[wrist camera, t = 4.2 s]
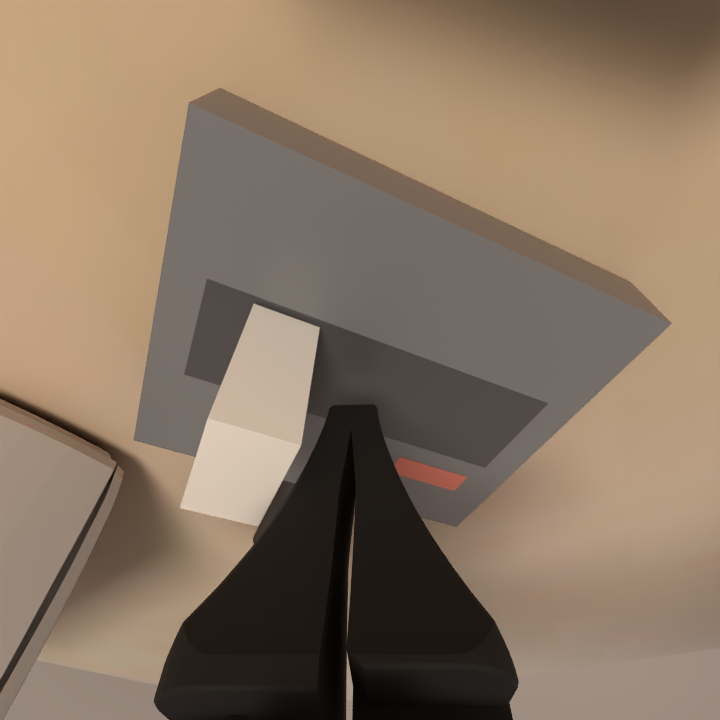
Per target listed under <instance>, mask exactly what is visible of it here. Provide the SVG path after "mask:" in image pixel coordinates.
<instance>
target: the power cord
mask: <svg viewBox="0 0 720 720" xmlns="http://www.w3.org/2000/svg"><path fill="white" fill-rule="evenodd" d="M294 485H295V483H291V482H288V481H283V482H282V484H281V486H280V488H279V490H278V492H277V494H276V496H275V497H274V499H273V501H272V503H271V505H270V507H269V509H268V511H267V512H266V514H265V516H264V518H263V520H262V522H261V524H260V525H259V527H258V529H257V531H256V533H255V535H254V537H253V542H254V544H255V542H256V541H257V540H258V538H259V537H260V536H261V534H262V533H263V532H264V530H265V529H266V528H267V526H268V525H269V524H270V522H271V521H272V519H273V518H274V516H275V515H276V514H277V512H278V511H279V509H280V508H281V506H282V505H283V503H284V501H285V500H286V498H287V497H288V495H289V493H290V492H291V490H292V489H293V487H294Z"/></svg>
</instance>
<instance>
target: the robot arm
mask: <svg viewBox="0 0 720 720" xmlns="http://www.w3.org/2000/svg"><path fill="white" fill-rule="evenodd" d="M355 498H356V502H355ZM354 508H355V524H354V544H353V562H352V578H351V594H350V608H349V622H348V636H347V602H348V566H349V553H350V544H351V535H352V526H353V517H354ZM347 653H348V659H349V665H350V671H351V676H352V682H353V720H513V718H512V713H511V709H510V704H509V702H510V700H511V699H512V697H513V695H514V693H515V691H516V690H517V688H518V677H517V673H516V670H515V667H514V664H513V661H512V658H511V656H510V653H509V651H508V648H507V646H506V644H505V642H504V639H503V637H502V635H501V633H500V631H499V629H498V627H497V625H496V623H495V621H494V619H493V618H492V617H491V616H490V614H489V613H488V612H487V611H486V610H485V608H484V607H483V606H482V605H481V604H480V602H479V601H478V600H477V598H476V597H475V596H474V595H473V593H472V592H471V591H470V590H469V588H468V587H467V586H466V584H465V583H464V582H463V580H462V579H461V578H460V576H459V575H458V574H457V572H456V571H455V570H454V568H453V567H452V565H451V564H450V562H449V561H448V559H447V558H446V556H445V555H444V553H443V552H442V551H441V549H440V548H439V546H438V545H437V543H436V542H435V540H434V539H433V537H432V536H431V534H430V532H429V531H428V529H427V527H426V526H425V524H424V522H423V521H422V519H421V517H420V516H419V514H418V512H417V510H416V508H415V507H414V505H413V503H412V501H411V499H410V497H409V495H408V493H407V491H406V489H405V487H404V485H403V483H402V481H401V479H400V477H399V475H398V472H397V470H396V468H395V466H394V463H393V461H392V458H391V456H390V453H389V451H388V448H387V445H386V442H385V439H384V436H383V433H382V429H381V426H380V422H379V416H378V408H377V407H376V406H375V405H374V404H367V405H333V406H332V407H330V408H329V412H328V415H327V418H326V421H325V424H324V427H323V429H322V432H321V434H320V436H319V438H318V441H317V443H316V445H315V447H314V449H313V451H312V453H311V455H310V457H309V460H308V462H307V464H306V465H305V467H304V469H303V471H302V473H301V474H300V476H299V478H298V480H297V481H296V483H295V485H294V487H293V489H292V490H291V492H290V493H289V495H288V497H287V498H286V500H285V501H284V503H283V505H282V506H281V508H280V509H279V511H278V512H277V514H276V515H275V516H274V518H273V519H272V521H271V522H270V524H269V525H268V526H267V528H266V529H265V530H264V532H263V533H262V534H261V536H260V537H259V538H258V540H257V541H256V542H255V544H254V545H253V546H252V547H251V549H250V550H249V551H248V552H247V554H246V555H245V556H244V557H243V558H242V559H241V561H240V562H239V563H238V564H237V565H236V566H235V568H234V569H233V570H232V571H231V572H230V573H229V575H228V576H227V577H226V578H225V579H224V580H223V582H222V583H221V584H220V585H219V586H218V587H217V588H216V589H215V590H214V591H213V592H212V593H211V594H210V595H209V596H208V597H207V598H206V599H205V600H204V602H203V603H202V604H201V605H200V606H199V607H198V608H197V609H196V610H195V611H194V612H193V613H192V614H191V615H190V616H189V617H188V618H187V619H186V620H185V621H184V622H183V624H182V626H181V628H180V630H179V632H178V634H177V636H176V638H175V640H174V642H173V645H172V647H171V649H170V652H169V654H168V656H167V659H166V662H165V664H164V668H163V671H162V674H161V678H160V681H159V684H158V688H157V691H156V694H155V698H154V703H155V705H156V707H157V709H158V710H159V711H160V712H161V713H162V714H163V715H164V716H166V717H167V718H168V719H169V720H346V667H347Z"/></svg>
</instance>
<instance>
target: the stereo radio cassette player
mask: <svg viewBox="0 0 720 720" xmlns="http://www.w3.org/2000/svg"><path fill="white" fill-rule="evenodd" d="M116 463H117V462H115V461H114V460H112V459H111V455H110V454H109V453H108V452H106V451H104V450H102V449H101V448H100V447H98V446H95V445H93V444H91V443H89V442H87V441H85V440H83V439H82V438H80V437H78V436H76V435H74V434H72V433H70V432H68V431H66V430H64V429H62V428H60V427H58V426H56V425H54V424H52V423H50V422H48V421H46V420H44V419H42V418H40V417H38V416H36V415H34V414H32V413H29V412H27V411H25V410H23V409H21V408H19V407H17V406H15V405H12V404H10V403H8V402H6V401H4V400H2V399H0V720H3V719H4V718H5V716H6V714H7V712H8V710H9V709H10V707H11V705H12V703H13V701H14V699H15V698H16V696H17V694H18V692H19V690H20V689H21V687H22V685H23V683H24V681H25V680H26V677H27V676H28V674H29V672H30V670H31V668H32V667H33V665H34V663H35V661H36V659H37V657H38V655H39V654H40V652H41V650H42V648H43V646H44V644H45V642H46V640H47V639H48V637H49V635H50V633H51V631H52V629H53V627H54V625H55V623H56V621H57V620H58V618H59V616H60V614H61V612H62V610H63V608H64V606H65V604H66V602H67V600H68V598H69V596H70V594H71V592H72V591H73V589H74V587H75V585H76V583H77V581H78V579H79V577H80V575H81V573H82V571H83V569H84V567H85V565H86V563H87V560H88V558H89V556H90V554H91V552H92V550H93V548H94V546H95V544H96V542H97V539H98V537H99V535H100V533H101V531H102V529H103V527H104V525H105V523H106V520H107V518H108V516H109V514H110V512H111V510H112V507H113V505H114V502H115V499H116V497H117V494H118V491H119V488H120V485H121V483H122V480H123V473H124V472H123V470H122V469H121V468H120V467H119V466H118V465H117V466H116Z"/></svg>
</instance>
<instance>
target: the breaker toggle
mask: <svg viewBox="0 0 720 720" xmlns="http://www.w3.org/2000/svg"><path fill="white" fill-rule="evenodd" d="M319 329H320V327H317V326H314V325H312V324H309V323H306V322H303V321H301V320H298V319H295V318H292V317H290V316H287V315H284V314H281V313H279V312H276V311H273V310H270V309H267V308H265V307H262V306H259V305H256V304H253V307H252V309H251V312H250V314H249V317H248V319H247V322H246V324H245V327H244V329H243V332H242V334H241V337H240V339H239V342H238V344H237V347H236V349H235V352H234V354H233V357H232V359H231V361H230V364H229V366H228V369H227V371H226V374H225V376H224V379H223V381H222V384H221V386H220V389H219V391H218V394H217V396H216V399H215V401H214V404H213V406H212V409H211V411H210V414H209V416H208V419H207V422H206V425H205V429H204V432H203V435H202V438H201V442H200V445H199V448H198V451H197V454H196V458H195V461H194V464H193V467H192V471H191V474H190V477H189V480H188V484H187V487H186V490H185V493H184V497H183V500H182V503H181V506H180V508H182V509H186V510H190V511H195V512H199V513H203V514H207V515H211V516H216V517H220V518H224V519H228V520H233V521H237V522H241V523H245V524H249V525H254V526H259V524H260V522H261V520H262V518H263V516H264V514H265V512H266V511H267V509H268V507H269V505H270V503H271V501H272V499H273V497H274V496H275V494H276V492H277V490H278V488H279V486H280V484H281V482H282V481H283V479H284V477H285V475H286V473H287V471H288V469H289V467H290V465H291V464H292V462H293V460H294V458H295V456H296V454H297V452H298V450H299V449H300V447H301V443H302V437H303V431H304V424H305V418H306V412H307V405H308V399H309V393H310V386H311V380H312V374H313V367H314V361H315V355H316V348H317V342H318V336H319Z"/></svg>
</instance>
